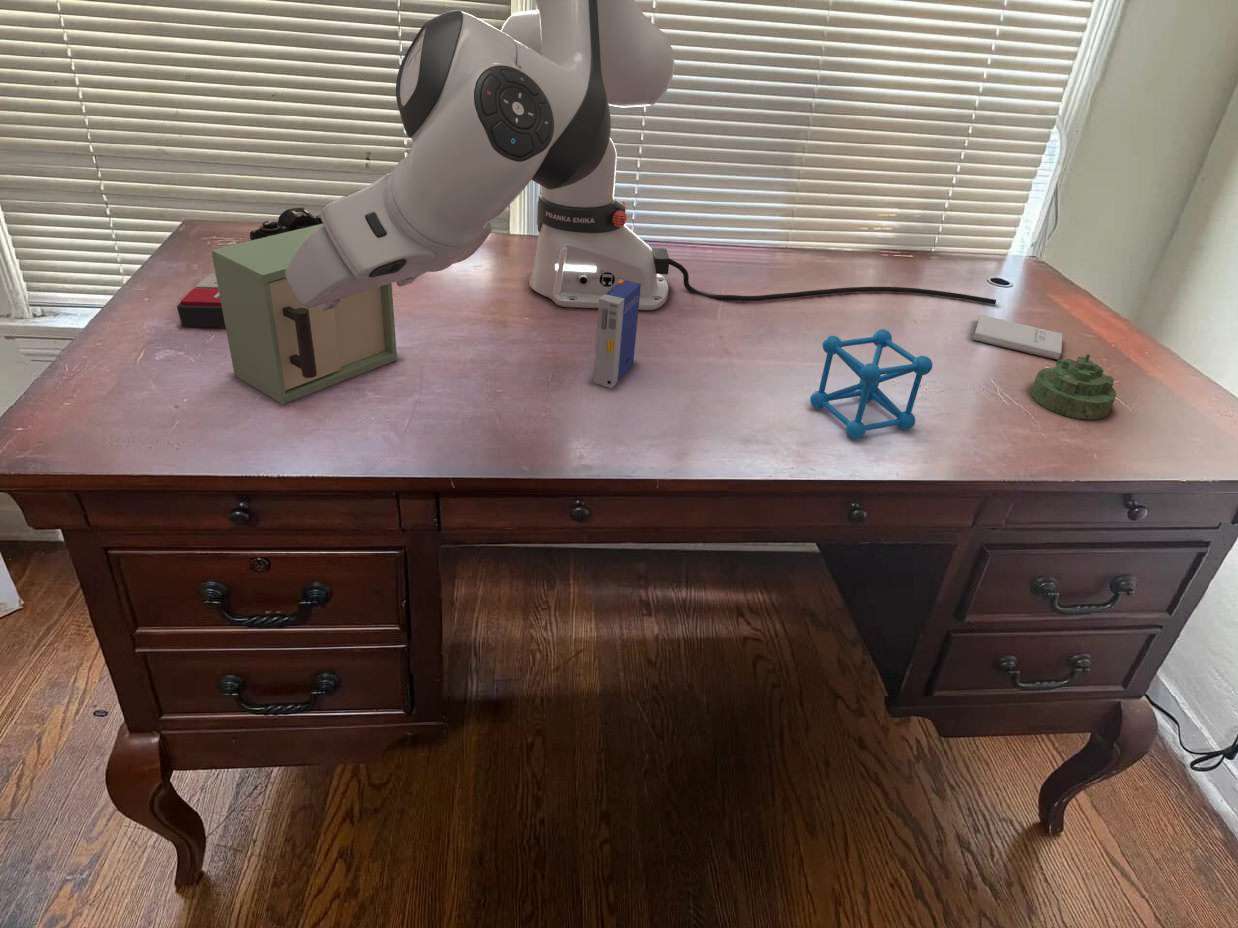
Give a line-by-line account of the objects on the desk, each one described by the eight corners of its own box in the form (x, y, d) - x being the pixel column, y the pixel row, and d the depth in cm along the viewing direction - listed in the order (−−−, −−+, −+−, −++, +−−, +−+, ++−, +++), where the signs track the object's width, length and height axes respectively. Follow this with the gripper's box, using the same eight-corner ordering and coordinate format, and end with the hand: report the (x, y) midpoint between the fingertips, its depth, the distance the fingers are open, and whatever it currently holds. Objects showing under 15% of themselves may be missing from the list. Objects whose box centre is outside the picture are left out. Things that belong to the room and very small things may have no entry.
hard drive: (977, 322, 139) (1059, 341, 135) (972, 341, 133) (1058, 361, 129) (980, 313, 138) (1063, 332, 134) (975, 331, 132) (1062, 351, 128)
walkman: (614, 360, 118) (621, 276, 111) (633, 364, 117) (641, 280, 111) (591, 383, 112) (597, 296, 105) (611, 388, 111) (618, 301, 104)
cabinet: (397, 360, 113) (388, 241, 104) (282, 404, 101) (262, 275, 93) (349, 335, 118) (337, 220, 109) (234, 375, 106) (210, 249, 98)
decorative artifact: (1089, 387, 122) (1020, 381, 122) (1109, 342, 119) (1037, 335, 118) (1121, 422, 114) (1046, 416, 114) (1143, 375, 110) (1066, 368, 110)
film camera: (325, 245, 145) (318, 186, 140) (375, 265, 140) (370, 204, 134) (230, 272, 133) (218, 208, 127) (280, 295, 127) (270, 228, 122)
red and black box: (205, 271, 123) (311, 273, 124) (212, 299, 126) (316, 301, 126) (173, 301, 114) (288, 303, 114) (181, 331, 116) (294, 333, 117)
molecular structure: (851, 444, 104) (870, 369, 98) (805, 404, 111) (820, 333, 106) (916, 431, 108) (939, 359, 102) (867, 394, 115) (886, 325, 110)
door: (360, 380, 105) (350, 275, 98) (304, 402, 100) (289, 293, 92) (338, 368, 107) (326, 264, 100) (282, 389, 102) (265, 281, 95)
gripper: (491, 168, 83) (427, 240, 93) (307, 208, 69) (255, 288, 79) (524, 226, 83) (456, 291, 93) (347, 277, 69) (290, 348, 79)
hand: (363, 290), depth 86 cm, fingers open, 8 cm apart
